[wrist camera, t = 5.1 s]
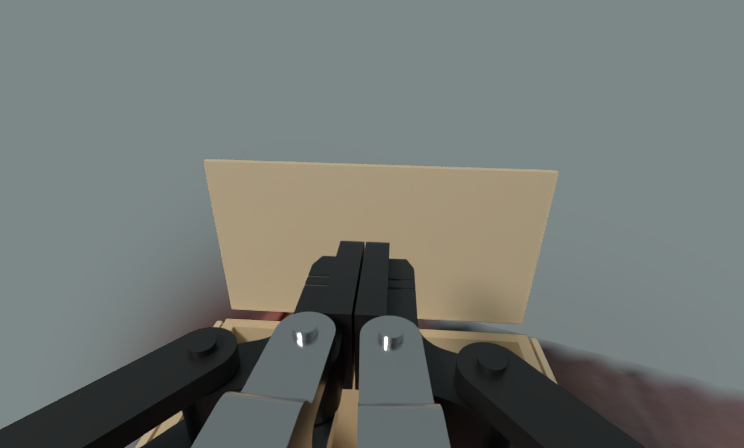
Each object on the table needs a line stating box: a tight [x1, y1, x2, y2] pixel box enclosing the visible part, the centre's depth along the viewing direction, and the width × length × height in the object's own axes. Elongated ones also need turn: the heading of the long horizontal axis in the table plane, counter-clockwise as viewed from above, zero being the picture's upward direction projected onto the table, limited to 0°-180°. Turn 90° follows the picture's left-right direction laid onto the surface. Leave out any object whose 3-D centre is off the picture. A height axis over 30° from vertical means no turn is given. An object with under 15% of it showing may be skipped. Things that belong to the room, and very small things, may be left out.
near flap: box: [204, 159, 559, 324], centre depth 19 cm, size 16×8×1 cm
